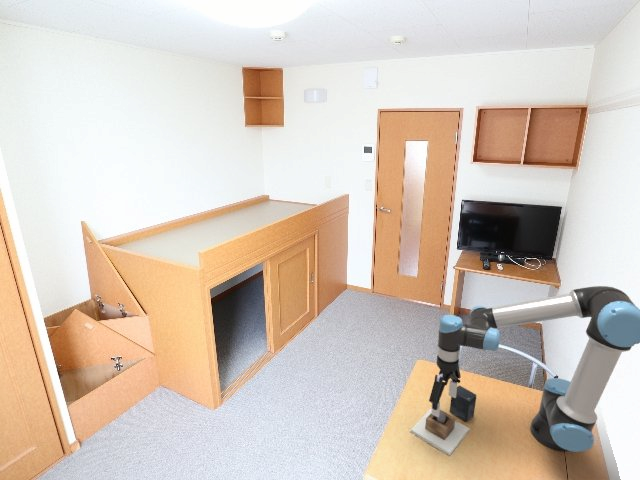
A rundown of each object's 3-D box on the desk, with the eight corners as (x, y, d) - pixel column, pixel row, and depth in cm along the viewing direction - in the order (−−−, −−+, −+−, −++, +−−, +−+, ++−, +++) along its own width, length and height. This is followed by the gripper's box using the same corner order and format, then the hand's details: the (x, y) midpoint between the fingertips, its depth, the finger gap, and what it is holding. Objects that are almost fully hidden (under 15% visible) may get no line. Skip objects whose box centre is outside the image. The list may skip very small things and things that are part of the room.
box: (473, 416, 157) (477, 394, 153) (466, 422, 153) (469, 401, 150) (456, 405, 162) (459, 384, 159) (449, 411, 159) (451, 390, 156)
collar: (454, 428, 149) (455, 417, 147) (444, 440, 143) (445, 429, 142) (435, 417, 154) (436, 407, 153) (425, 429, 149) (426, 418, 147)
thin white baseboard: (468, 430, 149) (471, 413, 147) (449, 456, 138) (452, 437, 136) (431, 410, 160) (432, 393, 157) (410, 432, 149) (412, 414, 146)
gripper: (453, 338, 150) (449, 384, 156) (421, 368, 133) (418, 418, 139) (472, 345, 145) (468, 393, 151) (441, 377, 128) (437, 429, 134)
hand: (444, 405), depth 145 cm, fingers open, 13 cm apart
